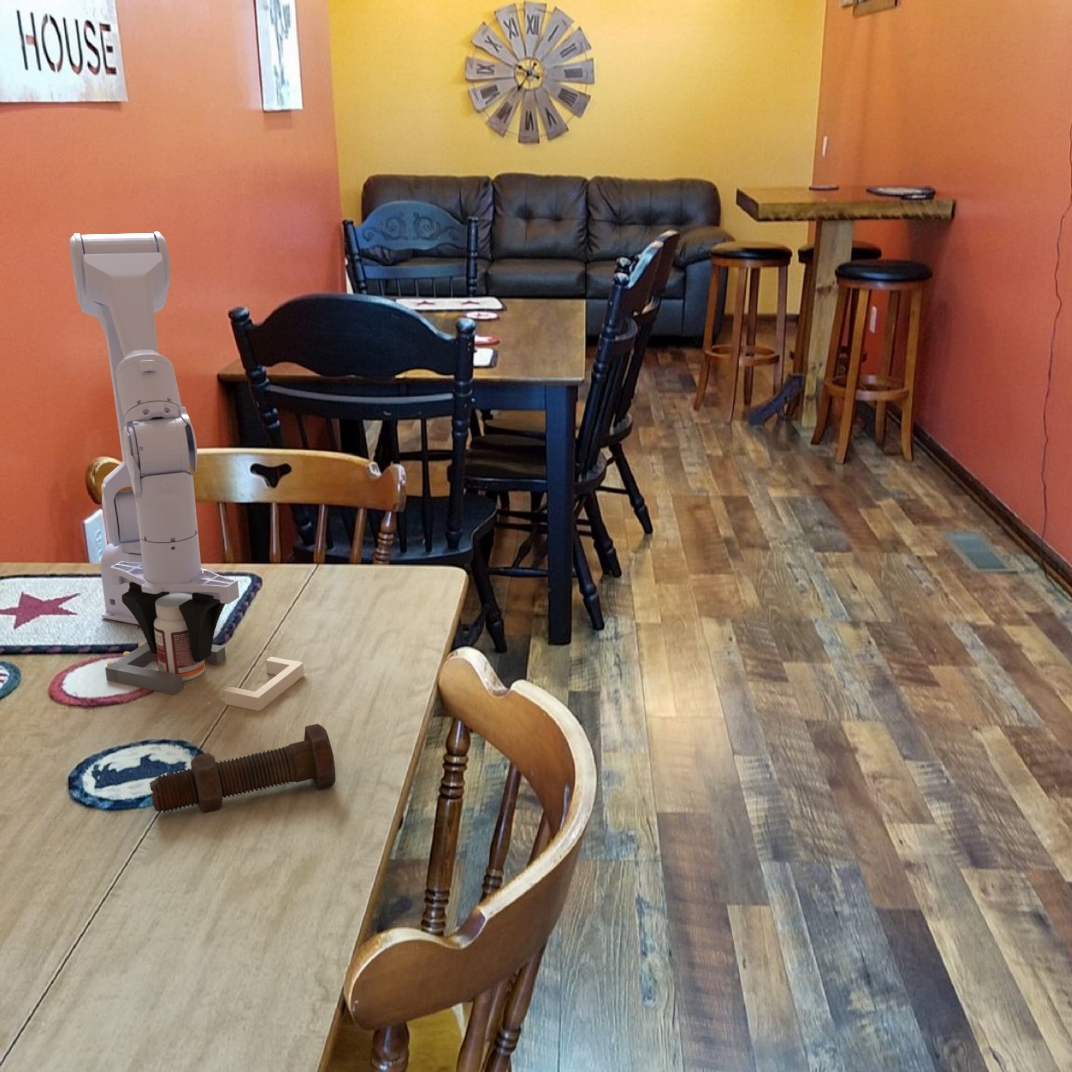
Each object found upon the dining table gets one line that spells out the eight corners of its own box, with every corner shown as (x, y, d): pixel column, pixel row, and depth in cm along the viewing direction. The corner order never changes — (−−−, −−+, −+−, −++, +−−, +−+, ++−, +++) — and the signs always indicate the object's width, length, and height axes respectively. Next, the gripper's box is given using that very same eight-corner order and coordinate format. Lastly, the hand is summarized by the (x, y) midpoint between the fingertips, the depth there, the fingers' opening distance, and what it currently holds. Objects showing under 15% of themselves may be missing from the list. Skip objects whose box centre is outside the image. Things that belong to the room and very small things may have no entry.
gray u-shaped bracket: (97, 678, 118) (95, 665, 118) (152, 644, 126) (151, 632, 126) (174, 694, 115) (172, 681, 115) (225, 658, 123) (224, 646, 123)
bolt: (156, 829, 96) (329, 787, 102) (158, 832, 92) (340, 788, 97) (144, 761, 97) (317, 723, 103) (146, 761, 92) (327, 721, 98)
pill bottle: (212, 663, 122) (205, 592, 119) (195, 683, 117) (188, 610, 115) (169, 661, 122) (162, 590, 119) (151, 681, 118) (143, 607, 115)
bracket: (225, 704, 113) (223, 690, 113) (271, 669, 121) (270, 656, 120) (259, 711, 112) (258, 697, 112) (303, 675, 120) (303, 662, 119)
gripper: (83, 536, 113) (99, 657, 118) (204, 556, 109) (216, 681, 113) (130, 515, 119) (143, 632, 124) (246, 533, 115) (255, 653, 119)
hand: (181, 654), depth 119 cm, fingers open, 5 cm apart
